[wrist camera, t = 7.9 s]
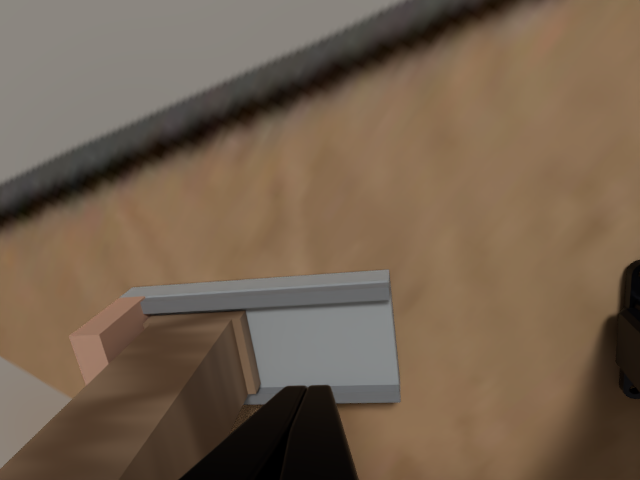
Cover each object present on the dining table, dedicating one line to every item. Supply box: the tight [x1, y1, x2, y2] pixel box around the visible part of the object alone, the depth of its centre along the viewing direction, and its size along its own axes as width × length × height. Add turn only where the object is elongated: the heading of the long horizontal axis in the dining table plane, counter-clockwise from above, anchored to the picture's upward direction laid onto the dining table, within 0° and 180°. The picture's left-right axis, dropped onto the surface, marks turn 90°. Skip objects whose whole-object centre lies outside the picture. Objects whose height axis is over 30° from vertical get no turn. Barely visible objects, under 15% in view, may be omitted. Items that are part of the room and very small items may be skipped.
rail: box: [69, 270, 400, 405], centre depth 20 cm, size 13×6×5 cm, turn 98°
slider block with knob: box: [0, 310, 261, 480], centre depth 16 cm, size 5×4×12 cm
